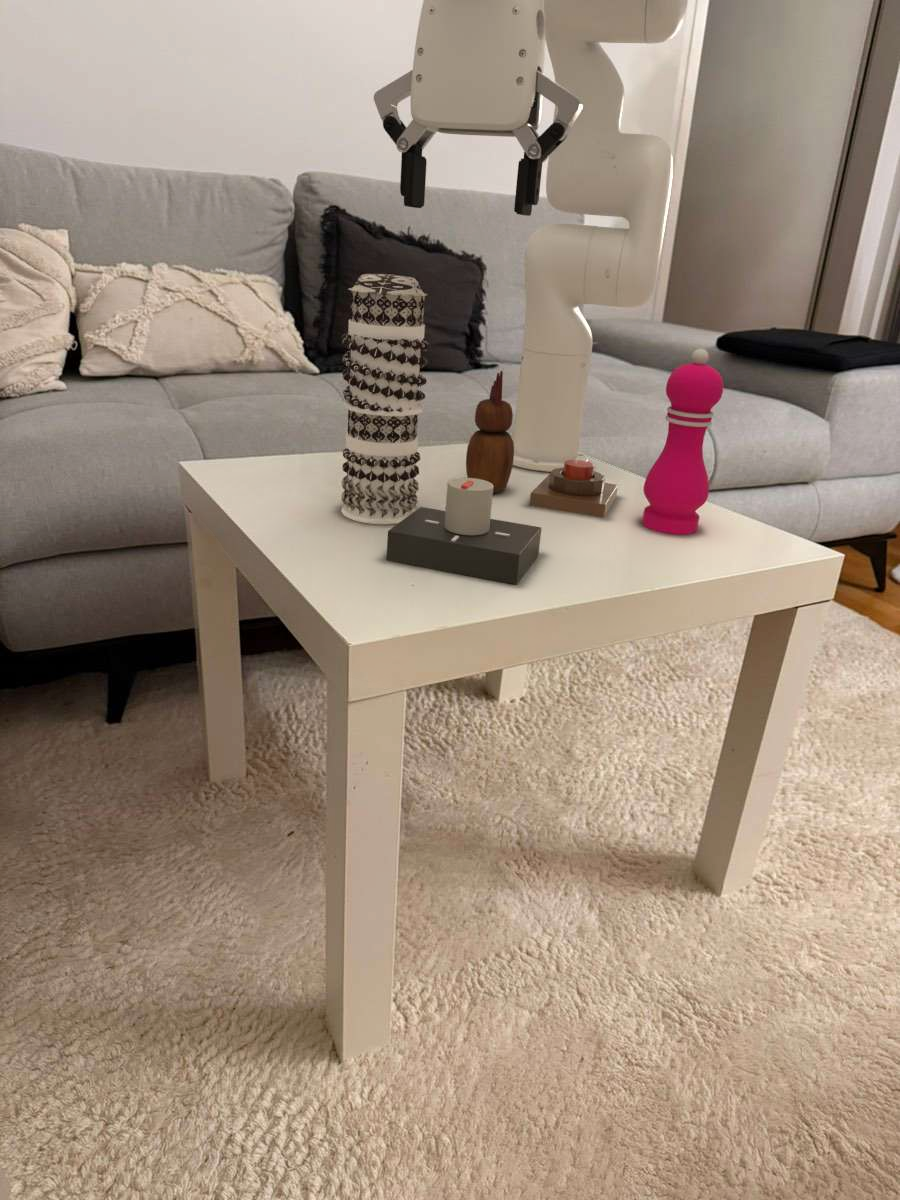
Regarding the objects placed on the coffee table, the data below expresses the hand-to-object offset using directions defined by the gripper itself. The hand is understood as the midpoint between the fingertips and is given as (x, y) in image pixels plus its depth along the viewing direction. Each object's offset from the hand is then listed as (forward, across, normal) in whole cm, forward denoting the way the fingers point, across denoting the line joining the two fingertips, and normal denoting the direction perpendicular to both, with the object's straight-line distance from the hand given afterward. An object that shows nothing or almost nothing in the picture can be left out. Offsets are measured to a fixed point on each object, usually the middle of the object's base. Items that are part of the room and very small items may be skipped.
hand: (467, 210), depth 72 cm
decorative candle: (+31, +11, -10) cm, 35 cm away
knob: (+28, -2, -1) cm, 28 cm away
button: (+28, -8, -27) cm, 40 cm away
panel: (+31, -2, -1) cm, 31 cm away
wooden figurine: (+31, +3, -26) cm, 41 cm away
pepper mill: (+31, -20, -23) cm, 44 cm away
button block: (+31, -8, -27) cm, 42 cm away
